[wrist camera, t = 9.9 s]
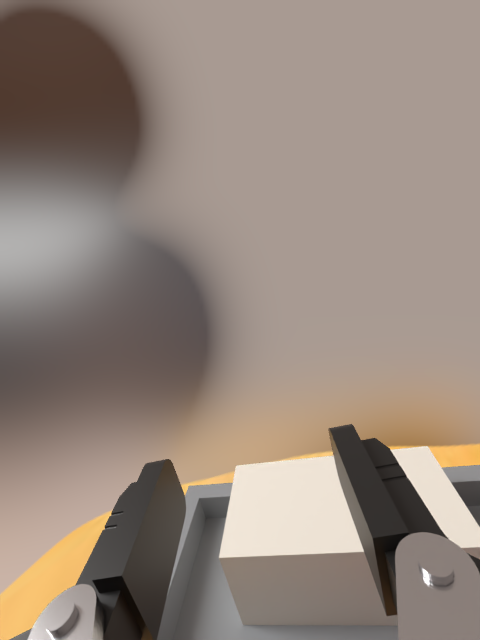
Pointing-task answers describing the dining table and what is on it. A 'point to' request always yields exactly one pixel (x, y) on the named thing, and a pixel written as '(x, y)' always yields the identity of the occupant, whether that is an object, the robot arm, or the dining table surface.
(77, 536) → the dining table surface
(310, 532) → the white box
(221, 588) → the tray
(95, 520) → the dining table surface
